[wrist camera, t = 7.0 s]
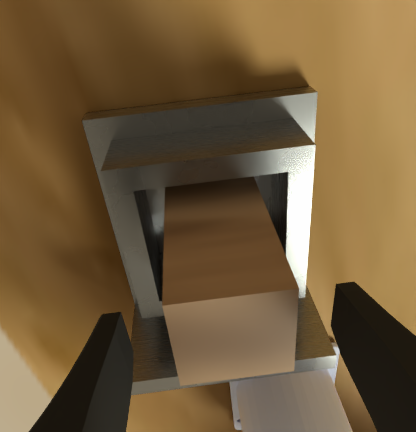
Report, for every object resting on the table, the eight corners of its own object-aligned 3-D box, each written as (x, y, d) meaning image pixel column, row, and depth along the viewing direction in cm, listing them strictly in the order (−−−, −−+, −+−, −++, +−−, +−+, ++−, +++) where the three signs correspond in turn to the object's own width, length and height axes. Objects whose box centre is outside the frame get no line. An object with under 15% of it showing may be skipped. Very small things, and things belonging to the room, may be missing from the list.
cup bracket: (299, 282, 23) (334, 367, 18) (139, 303, 23) (130, 395, 18) (310, 86, 17) (370, 135, 12) (86, 113, 17) (49, 175, 12)
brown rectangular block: (252, 235, 20) (294, 371, 13) (176, 245, 20) (180, 386, 13) (250, 167, 18) (299, 288, 11) (165, 178, 17) (162, 305, 11)
